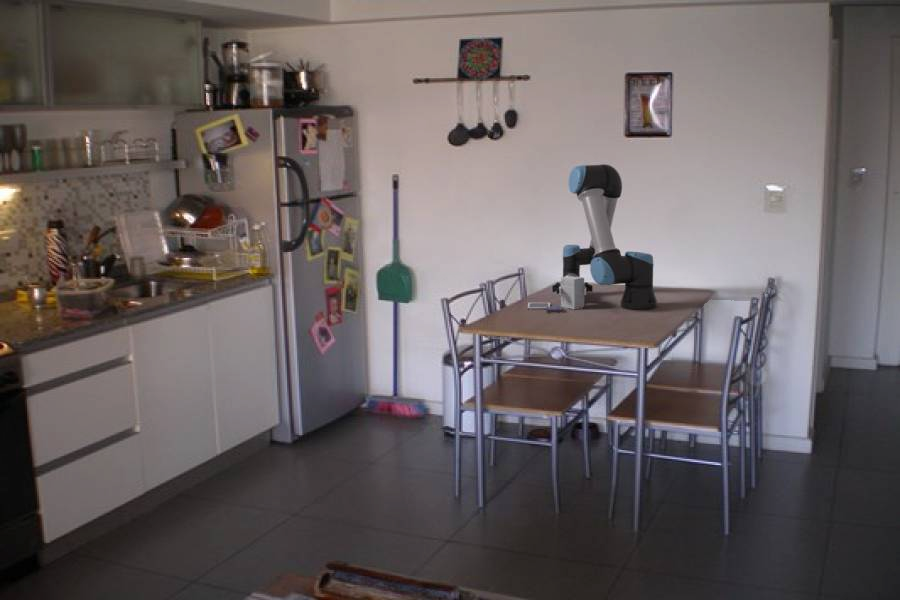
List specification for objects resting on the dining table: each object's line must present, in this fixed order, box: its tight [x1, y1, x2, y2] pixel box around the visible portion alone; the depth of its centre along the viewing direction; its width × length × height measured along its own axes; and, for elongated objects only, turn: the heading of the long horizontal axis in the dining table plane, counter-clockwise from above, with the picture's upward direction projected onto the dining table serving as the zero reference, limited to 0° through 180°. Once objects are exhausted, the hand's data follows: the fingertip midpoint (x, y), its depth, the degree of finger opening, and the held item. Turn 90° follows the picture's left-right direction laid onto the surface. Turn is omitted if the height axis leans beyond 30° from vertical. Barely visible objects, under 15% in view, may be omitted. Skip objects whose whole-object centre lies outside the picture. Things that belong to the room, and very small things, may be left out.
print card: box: [527, 301, 551, 310], centre depth 419 cm, size 9×11×1 cm
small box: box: [560, 276, 585, 310], centre depth 415 cm, size 8×6×13 cm
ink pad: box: [546, 306, 565, 314], centre depth 409 cm, size 7×7×1 cm
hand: (572, 292), depth 411 cm, fingers closed on small box, 10 cm apart
